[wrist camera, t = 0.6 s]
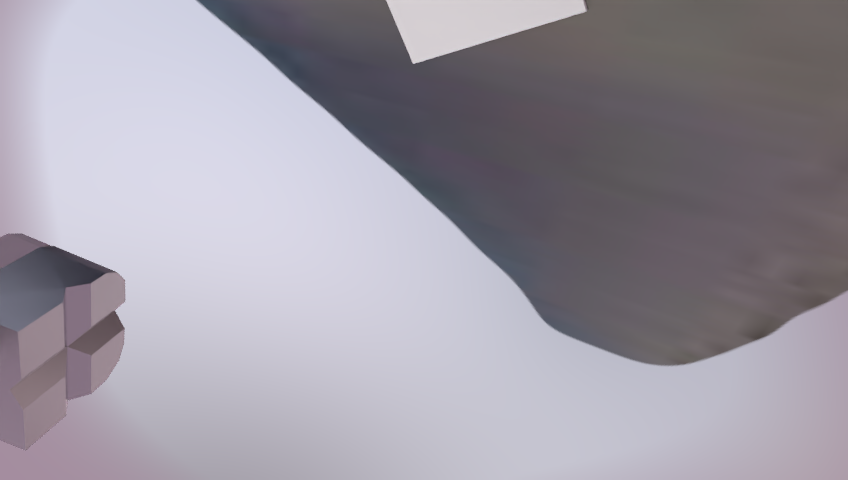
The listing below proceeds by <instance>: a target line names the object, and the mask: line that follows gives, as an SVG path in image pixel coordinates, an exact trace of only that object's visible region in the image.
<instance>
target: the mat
mask: <svg viewBox="0 0 848 480" xmlns="http://www.w3.org/2000/svg"><path fill="white" fill-rule="evenodd" d="M386 1H387V3H388V6H389V8H390V10H391V13H392V15H393V17H394V20H395V22H396V24H397V27H398V29H399V31H400V34H401V36H402V39H403V41H404V43H405V46H406V48H407V50H408V53H409V55H410V57H411V60H412V62H413V64H415V63H418V62H421V61H424V60H428V59H431V58H434V57H438V56H441V55H444V54H448V53H451V52H454V51H457V50H461V49H464V48H467V47H471V46H474V45H477V44H481V43H484V42H487V41H490V40H494V39H497V38H500V37H504V36H507V35H510V34H514V33H517V32H520V31H523V30H527V29H530V28H533V27H537V26H540V25H543V24H547V23H550V22H553V21H556V20H560V19H563V18H566V17H570V16H573V15H576V14H579V13H583V12H586V11H587V10H588V9H587V5H586V2H585V0H386Z"/></svg>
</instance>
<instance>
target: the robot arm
mask: <svg viewBox="0 0 848 480" xmlns="http://www.w3.org/2000/svg"><path fill="white" fill-rule="evenodd" d="M124 302H125V280H124V279H123V278H122V277H121V276H120V275H119V274H118V273H117V272H115V271H113V270H110V269H108V268H105V267H103V266H101V265H98V264H95V263H93V262H91V261H89V260H86V259H84V258H81V257H79V256H76V255H74V254H71V253H69V252H67V251H64V250H62V249H59V248H57V247H55V246H50V245H48V244H46V243H43V242H41V241H38V240H36V239H33V238H31V237H29V236H26V235H24V234H6V235H4V236H2V237H0V440H1V441H3V442H6V443H8V444H11V445H13V446H16V447H18V448H21V449H23V450H27V449H28V448H29V447H30V446H31V445H33V444H34V443H35V442H36V441H37V440H38V439H39V438H41V437H42V436H43V435H44V434H45V433H46V432H48V431H49V430H50V429H51V428H52V427H53V426H54V425H56V424H57V423H58V422H59V421H60V420H61V419H63V418H64V417H65V416H66V411H67V404H68V400H71V399H74V398H78V397H81V396H85V395H88V394H91V393H92V392H94V391H95V390H96V389H97V388H98V387H99V386H100V385H101V384H102V383H103V382H105V380H107V378H108V377H109V375H110V374H111V372H112V370H113V369H114V367H115V366H116V364H117V362H118V361H119V358H120V355H121V352H122V348H123V345H124V327H123V325H122V323H121V321H120V320H119V317H118V316H117V314H116V312H115V310H116V309H117V308H118V307H119V306H120V305H121V304H122V303H124Z"/></svg>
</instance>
